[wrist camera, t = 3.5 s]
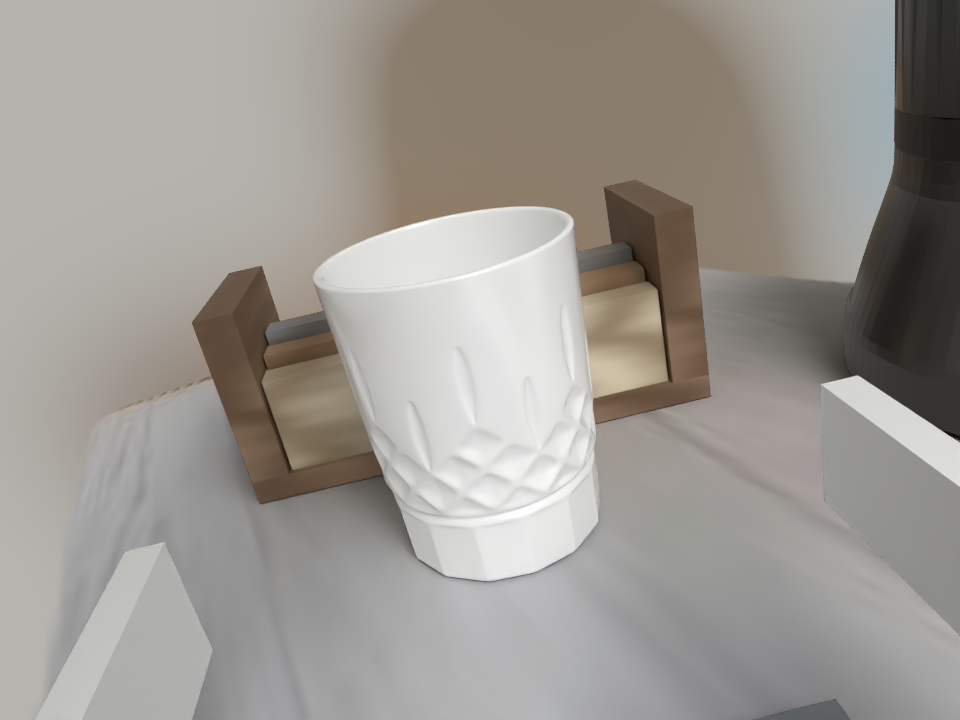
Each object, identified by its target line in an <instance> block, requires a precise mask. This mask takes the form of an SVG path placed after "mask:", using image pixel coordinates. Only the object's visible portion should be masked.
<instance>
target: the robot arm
mask: <svg viewBox="0 0 960 720" xmlns="http://www.w3.org/2000/svg"><path fill="white" fill-rule="evenodd" d="M894 142H895V148H894V166H893V172H892V175H891V179H890V182H889V185H888V188H887V191H886V193H885V196H884V199H883V202H882V204H881V207H880V210H879V213H878V215H877V218H876V221H875V223H874V226H873V229H872V232H871V235H870V238H869V241H868V244H867V247H866V250H865V253H864V256H863V260H862V262H861V265H860V268H859V272H858V275H857V278H856V282H855V285H854V286H853V288H852V289H851V291H850V293H849V296H848V299H847V303H846V308H845V316H844V322H845V360H846V365H847V368H848V370H849V372H850V374H851V375H852V377H849V378H845V379H840V380H836V381H832V382H828V383H824V384H821V412H822V443H823V475H824V501H825V502H826V503H827V504H828V505H829V506H830V507H831V508H832V509H833V510H834V511H835V512H836V513H837V514H838V515H839V516H840V517H841V518H842V519H843V520H844V521H845V522H846V523H847V524H848V525H849V526H850V527H851V528H852V529H853V530H854V531H855V532H856V533H857V534H858V535H859V536H860V537H861V538H862V539H863V540H864V541H865V542H866V543H867V544H868V545H869V546H870V547H871V548H872V549H873V550H874V551H875V552H876V553H877V554H878V555H879V556H880V557H881V558H882V559H883V560H884V561H885V562H886V563H887V564H888V565H889V566H890V567H891V568H892V569H893V570H894V571H895V572H896V573H897V574H898V575H899V576H901V577H902V578H903V579H904V580H905V581H906V582H907V583H908V584H909V585H910V586H911V587H912V588H913V589H914V590H915V591H916V592H917V593H918V594H919V595H920V596H921V597H922V598H923V599H924V600H925V601H926V602H927V603H928V604H929V605H930V606H931V607H932V608H933V609H934V610H935V611H936V612H937V613H938V614H939V615H940V616H941V617H942V618H943V619H944V620H945V621H946V622H947V623H948V624H949V625H950V626H951V627H952V628H953V629H954V630H955V631H956V632H957V633H958V634H959V635H960V443H959V442H958V441H956V440H955V439H953V438H952V437H950V436H949V435H947V434H946V433H944V432H943V431H941V430H944V431H947V432H950V433H953V434H956V435H960V0H895V126H894ZM212 652H213V649H212V647H211V645H210V643H209V640H208V638H207V636H206V634H205V631H204V629H203V627H202V625H201V622H200V620H199V618H198V616H197V613H196V611H195V609H194V607H193V604H192V602H191V600H190V598H189V595H188V593H187V591H186V589H185V586H184V584H183V582H182V580H181V577H180V575H179V573H178V571H177V568H176V566H175V564H174V562H173V559H172V557H171V555H170V553H169V550H168V548H167V546H166V544H165V542H162V543H158V544H153V545H149V546H145V547H141V548H137V549H133V550H128V551H125V553H124V554H123V556H122V558H121V560H120V562H119V564H118V566H117V568H116V569H115V571H114V573H113V575H112V577H111V579H110V581H109V582H108V584H107V586H106V588H105V590H104V592H103V594H102V595H101V597H100V599H99V601H98V603H97V605H96V607H95V608H94V610H93V612H92V614H91V616H90V618H89V620H88V621H87V623H86V625H85V627H84V629H83V631H82V633H81V634H80V636H79V638H78V640H77V642H76V644H75V646H74V647H73V649H72V651H71V653H70V655H69V657H68V659H67V660H66V662H65V664H64V666H63V668H62V670H61V672H60V673H59V675H58V677H57V679H56V681H55V683H54V685H53V687H52V688H51V690H50V692H49V694H48V696H47V698H46V700H45V701H44V703H43V705H42V707H41V709H40V711H39V713H38V714H37V716H36V718H35V720H192V719H193V716H194V712H195V709H196V706H197V702H198V699H199V696H200V692H201V689H202V686H203V682H204V679H205V675H206V672H207V669H208V665H209V662H210V659H211V655H212Z"/></svg>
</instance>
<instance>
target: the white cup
mask: <svg viewBox="0 0 960 720" xmlns="http://www.w3.org/2000/svg"><path fill="white" fill-rule="evenodd" d="M312 279H313V283H314V286H315V288H316V291H317V294H318V297H319V300H320V302H321V305H322V308H323V311H324V314H325V316H326V319H327V322H328V325H329V328H330V330H331V333H332V336H333V339H334V342H335V345H336V347H337V350H338V353H339V356H340V359H341V362H342V364H343V367H344V370H345V373H346V376H347V379H348V381H349V384H350V387H351V389H352V392H353V395H354V398H355V401H356V403H357V406H358V409H359V412H360V415H361V418H362V420H363V423H364V426H365V429H366V432H367V435H368V438H369V440H370V444H371V446H372V448H373V450H374V453H375V455H376V457H377V460H378V462H379V464H380V466H381V468H382V472H383V475H384V479H385V482H386V483H387V485H388V486H389V487H390V488H391V490H392V491H393V494H394V497H395V499H396V502H397V503H398V506H399V508H400V510H401V513H402V516H403V519H404V522H405V525H406V528H407V531H408V534H409V537H410V540H411V543H412V546H413V548H414V551H415V554H416V556H417V558H418V559H419V560H421V561H423V562H424V563H426V564H427V565H429V566H430V567H432V568H434V569H435V570H437V571H438V572H440V573H441V574H443V575H445V576H448V577H455V578H463V579H471V580H479V581H494V580H500V579H505V578H510V577H515V576H520V575H525V574H530V573H535V572H537V571H539V570H541V569H543V568H545V567H547V566H549V565H551V564H552V563H554V562H556V561H558V560H560V559H562V558H564V557H565V556H567V555H569V554H571V553H573V552H574V551H576V549H577V548H578V547H579V546H580V545H581V543H582V542H583V541H584V540H585V538H586V537H587V536H588V535H589V534H590V532H591V531H592V530H593V529H594V527H595V526H596V525H597V523H598V517H599V501H600V491H599V482H598V474H597V466H596V458H595V450H594V445H595V442H596V429H595V420H594V412H593V393H592V381H591V371H590V361H589V353H588V344H587V336H586V327H585V319H584V310H583V301H582V293H581V284H580V275H579V266H578V256H577V248H576V238H575V228H574V221H573V218H572V217H571V216H570V215H569V214H568V213H566V212H563V211H561V210H557V209H553V208H546V207H530V206H529V207H528V206H523V207H503V208H494V209H485V210H477V211H471V212H465V213H459V214H454V215H449V216H444V217H439V218H435V219H431V220H426V221H422V222H419V223H415V224H411V225H407V226H404V227H401V228H397V229H394V230H391V231H388V232H385V233H382V234H379V235H377V236H374V237H371V238H368V239H366V240H363V241H361V242H359V243H357V244H354V245H352V246H350V247H348V248H346V249H344V250H342V251H340V252H338V253H336V254H335V255H333V256H331V257H330V258H328V259H327V260H325V261H324V262H323V263H322V264H321V265H320V266H319V267H318V268H317V269H316V270H315V272H314V274H313V278H312Z"/></svg>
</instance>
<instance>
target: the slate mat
mask: <svg viewBox="0 0 960 720" xmlns="http://www.w3.org/2000/svg"><path fill="white" fill-rule="evenodd" d="M754 720H850V719H849V717H848V716H847V715H846V713H845V712H844V710H843V709H842V707H841V706H840V705H839V703H838V702H837V700H836V699H834V700H830V701H826V702H822V703H818V704H814V705H810V706H806V707H802V708H798V709H794V710H790V711H786V712H782V713H778V714H774V715H770V716H766V717H762V718H758V719H754Z"/></svg>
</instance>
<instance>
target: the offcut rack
mask: <svg viewBox="0 0 960 720" xmlns="http://www.w3.org/2000/svg"><path fill="white" fill-rule="evenodd" d="M604 192H605V198H606V206H607V212H608V220H609V227H610V235H611V241H612V244H610V245H606V246H601V247H597V248H593V249H588V250H584V251H580V252H577V256H578V266H579V275H580V284H581V293H582V301H583V310H584V319H585V327H586V336H587V344H588V353H589V361H590V371H591V381H592V393H593V412H594V420H595V424H596V423H600V422H605V421H609V420H613V419H617V418H621V417H625V416H630V415H634V414H638V413H642V412H646V411H651V410H655V409H659V408H663V407H667V406H671V405H676V404H680V403H684V402H688V401H692V400H696V399H701V398H705V397H709V396H711V394H710V384H709V373H708V363H707V352H706V342H705V331H704V321H703V310H702V300H701V290H700V279H699V269H698V259H697V248H696V237H695V227H694V217H693V207H692V206H690V205H688V204H686V203H683V202H682V201H680V200H677V199H675V198H673V197H671V196H669V195H667V194H665V193H662V192H660V191H658V190H656V189H654V188H652V187H650V186H647V185H645V184H643V183H641V182H639V181H637V180H633V181H628V182H624V183H619V184H615V185H611V186H607V187H604ZM192 325H193V327H194V330H195V332H196V335H197V338H198V341H199V343H200V346H201V349H202V351H203V354H204V357H205V359H206V361H207V364H208V367H209V369H210V372H211V375H212V378H213V380H214V383H215V386H216V388H217V391H218V394H219V396H220V399H221V402H222V404H223V407H224V409H225V412H226V415H227V417H228V420H229V423H230V425H231V428H232V431H233V433H234V436H235V439H236V441H237V444H238V447H239V449H240V452H241V454H242V457H243V460H244V462H245V465H246V468H247V470H248V473H249V476H250V478H251V481H252V484H253V486H254V489H255V492H256V494H257V497H258V499H259V502H260V504H262V503H266V502H270V501H275V500H279V499H283V498H287V497H291V496H295V495H300V494H304V493H308V492H312V491H316V490H321V489H325V488H329V487H333V486H337V485H341V484H346V483H350V482H354V481H358V480H362V479H366V478H371V477H375V476H379V475H383V472H382V468H381V466H380V464H379V462H378V460H377V457H376V455H375V453H374V450H373V448H372V446H371V444H370V440H369V438H368V435H367V432H366V429H365V426H364V423H363V420H362V418H361V415H360V412H359V409H358V406H357V403H356V401H355V398H354V395H353V392H352V389H351V387H350V384H349V381H348V379H347V376H346V373H345V370H344V367H343V364H342V362H341V359H340V356H339V353H338V350H337V347H336V345H335V342H334V339H333V336H332V333H331V330H330V328H329V325H328V322H327V319H326V316H325V314H324V311H322V312H317V313H313V314H309V315H305V316H301V317H296V318H292V319H287V320H283V321H280V320H279V317H278V314H277V311H276V308H275V305H274V302H273V299H272V296H271V293H270V290H269V287H268V283H267V281H266V278H265V274H264V271H263V268H262V266H259V267H254V268H250V269H246V270H241V271H237V272H233V273H229V274H228V275H227V277H226V278H225V280H224V281H223V282H222V284H221V285H220V286H219V287H218V289H217V290H216V291H215V293H214V294H213V296H212V297H211V298H210V299H209V301H208V302H207V303H206V305H205V306H204V307H203V309H202V310H201V311H200V313H199V314H198V315H197V316H196V318H195V319H194V320H193V322H192Z"/></svg>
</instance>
